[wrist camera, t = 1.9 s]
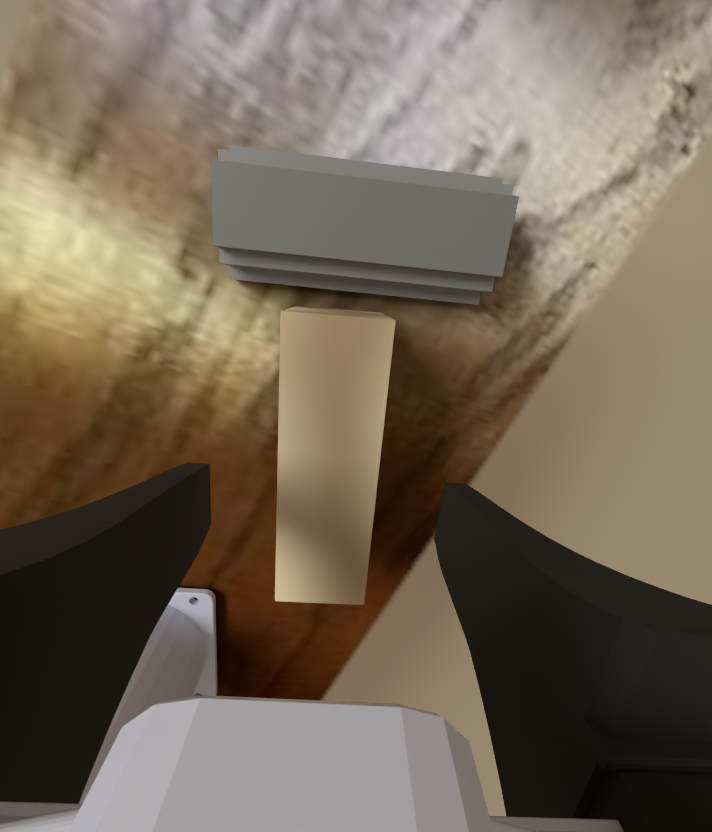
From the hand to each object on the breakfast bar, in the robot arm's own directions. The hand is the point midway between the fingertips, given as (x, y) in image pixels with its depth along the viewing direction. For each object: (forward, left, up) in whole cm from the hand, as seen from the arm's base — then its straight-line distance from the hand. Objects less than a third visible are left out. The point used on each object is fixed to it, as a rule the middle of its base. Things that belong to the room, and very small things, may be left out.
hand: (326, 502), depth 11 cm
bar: (0, 0, -7) cm, 7 cm away
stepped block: (0, +8, -7) cm, 11 cm away
